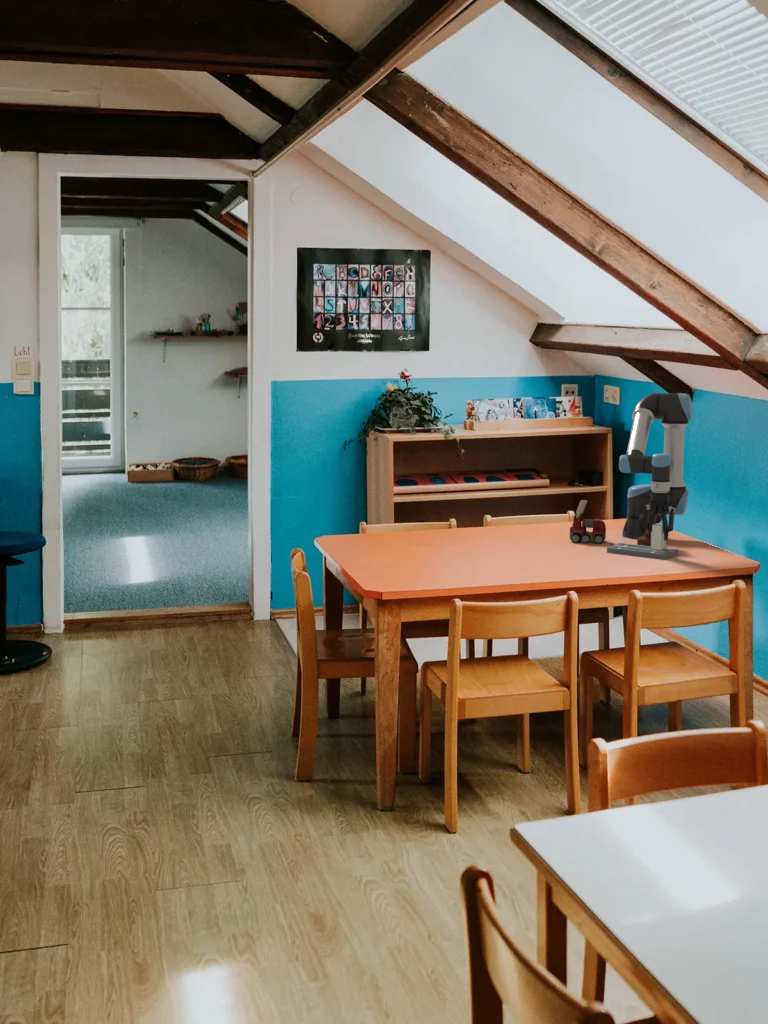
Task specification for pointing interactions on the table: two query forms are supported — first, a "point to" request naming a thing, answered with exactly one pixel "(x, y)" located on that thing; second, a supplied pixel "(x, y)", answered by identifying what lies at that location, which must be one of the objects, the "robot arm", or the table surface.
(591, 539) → the toy fire truck
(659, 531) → the fader tab
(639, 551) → the slider board
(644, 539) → the brown tall irregular piece
